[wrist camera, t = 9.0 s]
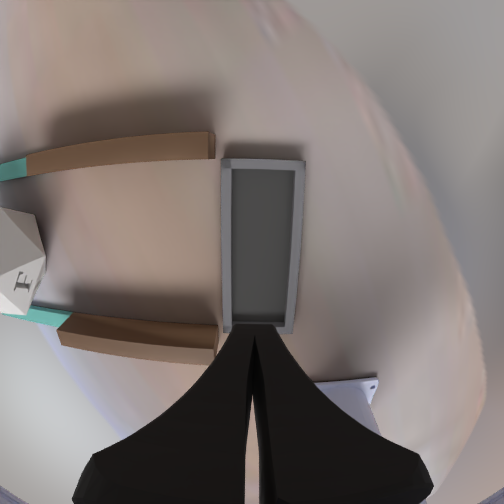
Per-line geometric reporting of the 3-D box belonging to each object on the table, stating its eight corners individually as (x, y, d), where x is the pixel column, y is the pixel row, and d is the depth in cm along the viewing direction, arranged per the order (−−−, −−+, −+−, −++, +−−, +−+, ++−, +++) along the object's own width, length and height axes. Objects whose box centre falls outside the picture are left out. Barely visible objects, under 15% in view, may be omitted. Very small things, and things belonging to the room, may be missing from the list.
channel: (218, 341, 22) (214, 365, 19) (77, 326, 22) (61, 345, 19) (215, 135, 17) (208, 131, 14) (50, 152, 17) (26, 155, 14)
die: (34, 300, 22) (30, 354, 14) (-35, 266, 16) (-67, 308, 9) (62, 224, 22) (63, 249, 15) (-9, 185, 17) (-42, 192, 9)
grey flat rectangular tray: (290, 326, 21) (292, 333, 20) (224, 325, 21) (223, 332, 20) (302, 161, 17) (305, 161, 16) (222, 158, 17) (221, 158, 16)
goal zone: (77, 326, 22) (74, 330, 21) (-11, 307, 22) (-14, 310, 21) (50, 152, 17) (46, 153, 16) (-36, 176, 17) (-40, 176, 16)
